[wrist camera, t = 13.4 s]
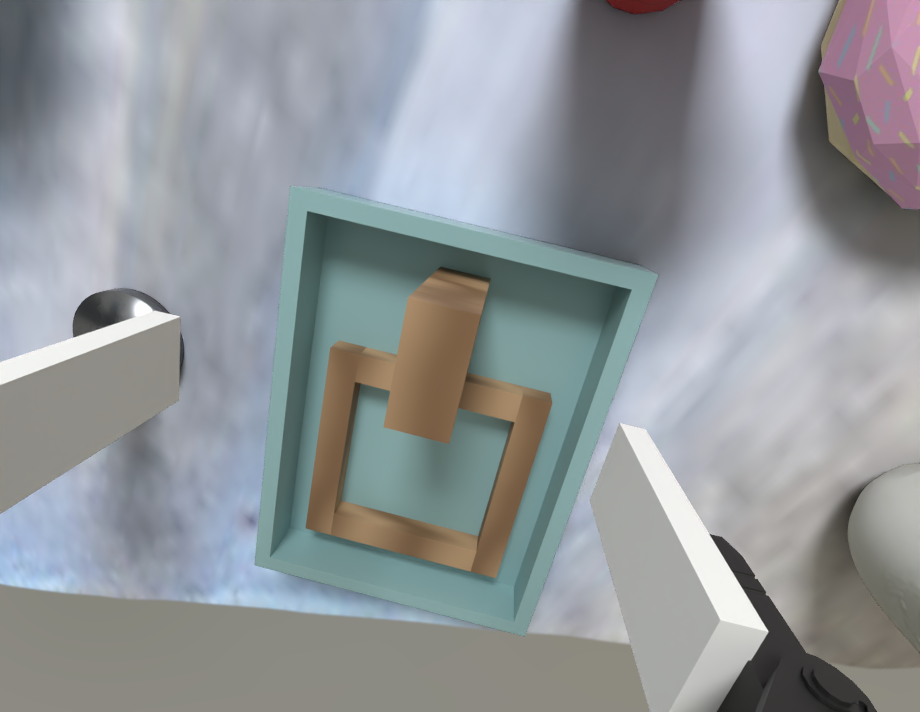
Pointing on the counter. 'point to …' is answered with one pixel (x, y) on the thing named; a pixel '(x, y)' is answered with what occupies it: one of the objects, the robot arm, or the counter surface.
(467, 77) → the counter surface
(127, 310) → the grey metal stand
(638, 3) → the plastic cup
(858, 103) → the donut
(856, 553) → the glass bottle
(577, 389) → the tray
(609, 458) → the robot arm
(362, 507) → the ring
